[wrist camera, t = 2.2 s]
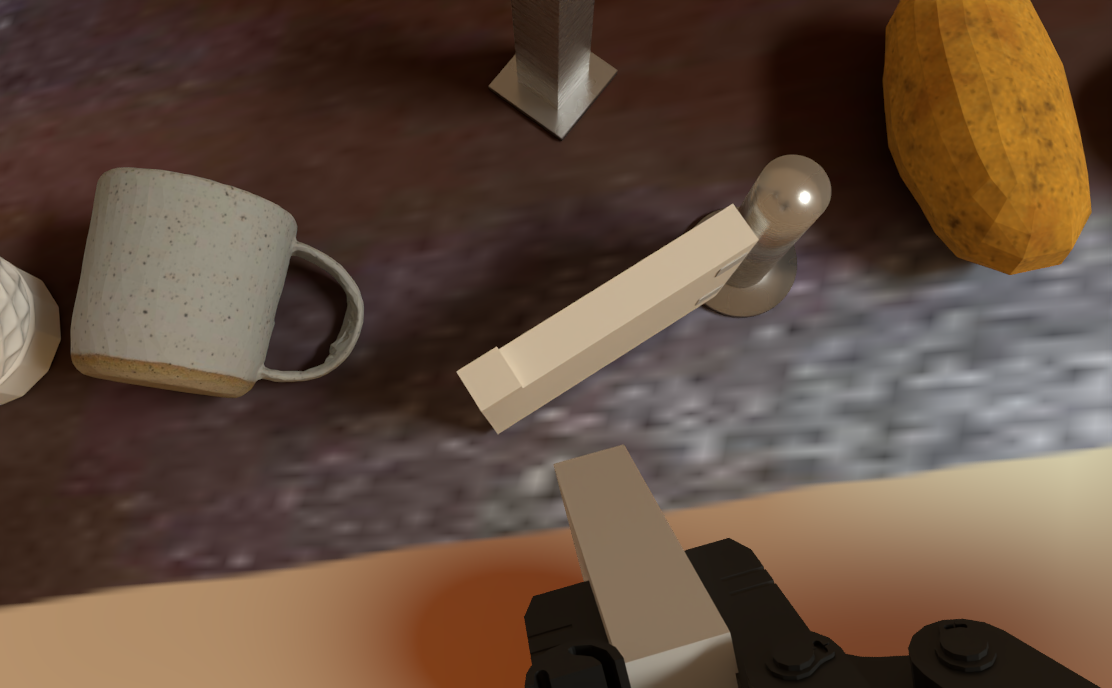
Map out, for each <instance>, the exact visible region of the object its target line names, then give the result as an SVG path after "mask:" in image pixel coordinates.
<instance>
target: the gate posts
mask: <svg viewBox="0 0 1112 688" xmlns="http://www.w3.org/2000/svg"><path fill="white" fill-rule="evenodd" d="M511 4H512V16H513V29H514V41H515V53H516V54H515V55H514V57H513V58H512V59H511V60H510V61H509V62H508V64H507V65H506V66H505V67H504V68H503V69H502V71H501V72H500V73H499V74H498V75H497V77H496V78H495V79H494V80H493V81H492V82H491V84H490V85H489V89H490V90H491V91H492V92H494V93H495V94H497V95H498V96H499V97H501V98H502V99H504V100H505V101H506V102H508V103H509V104H511V105H512V106H513V107H515V108H516V109H517V110H519V111H520V112H522V113H523V114H524V115H526V116H527V117H529V118H530V119H531V120H533V121H534V122H536V123H537V124H538V125H540V126H541V127H543V128H544V129H545V130H547V131H548V132H550V133H551V134H552V135H554V136H555V137H557V138H558V139H559V140H561V141H562V140H563V139H564V138H565V137H566V135H567V134H568V133H569V132H570V130H571V129H572V128H573V127H574V126H575V124H576V123H577V122H578V121H579V119H580V118H581V117H582V116H583V115H584V113H585V112H586V111H587V110H588V108H589V107H590V106H591V105H592V104H593V102H594V101H595V100H596V99H597V97H598V96H599V95H600V94H601V93H602V91H603V90H604V89H605V88H606V87H607V85H608V84H609V83H610V82H611V80H612V79H613V78H614V77H615V76H616V74H617V70H616V69H615V68H613V67H612V66H610V65H609V64H608V63H606V62H605V61H603V60H602V59H600V58H599V57H597V56H596V55H595V54H593V53H592V52H590V47H591V35H592V22H593V10H594V0H511ZM830 198H831V184H830V181H829V178H828V176H827V174H826V172H825V171H824V170H823V168H822V167H821V166H820V165H819V164H817V163H816V162H815V161H813V160H811V159H809V158H807V157H804V156H801V155H784V156H781V157H778V158H776V159H774V160H772V161H771V162H770V163H769V164H768V165H767V166H766V167H765V168H764V169H763V171H762V172H761V174H760V176H759V177H758V179H757V180H756V182H755V184H754V185H753V187H752V188H751V190H750V192H749V193H748V195H747V196H746V198H745V200H744V201H743V203H742V204H741V206H740V207H736V209H737V210H738V211H739V213H740V214H741V216H742V217H743V218H744V220H745V221H746V223H747V224H748V225H749V227H750V228H751V230H752V231H753V232H754V234H755V235H756V237H757V238H758V239H759V240H758V241H757V243H756V244H755V245H754V247H753V248H752V249H751V251H750V252H749V253H748V254H747V256H746V257H745V258H744V260H743V261H742V262H741V264H740V265H739V266H738V267H737V269H736V270H735V271H734V273H733V274H732V275H731V277H730V278H729V279H728V280H727V282H726V283H725V284H724V286H723V287H722V288H721V290H720V291H719V292H718V293H717V295H716V296H715V297H713V298H712V299H710V300H709V301H707V302H705V303H704V305H705V306H707V307H708V308H710V309H711V310H713V311H715V312H717V313H720V314H723V315H726V316H730V317H738V318H741V317H752V316H756V315H760V314H762V313H765V312H767V311H769V310H770V309H772V308H773V307H775V306H776V305H777V304H778V303H780V302H781V301H782V300H783V298H784V297H785V296H786V295H787V294H788V292H789V291H790V289H791V287H792V285H793V282H794V279H795V276H796V271H797V257H796V252H795V248H794V244H795V243H796V242H797V240H798V239H799V238H800V237H801V236H802V235H803V234H804V233H805V232H806V231H807V230H808V228H809V227H810V226H811V225H812V224H813V223H814V222H815V221H816V220H817V219H818V218H819V216H820V215H821V214H822V213H823V212H824V211H825V209H826V208H827V206H828V204H829V202H830ZM724 209H725V208H724ZM724 209H720V210H717V211H715V212H713V213H711V214H709V215H707V216H706V217H704V218H703V219H702V220H701V221H700V222H699V223H698V224H697V225H696V226H698V225H700V224H701V223H703V222H704V221H706V220H708V219H709V218H711V217H712V216H714V215H716V214H717V213H719V212H720V211H722V210H724ZM696 226H695V227H696ZM695 227H694V228H695Z"/></svg>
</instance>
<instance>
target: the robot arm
mask: <svg viewBox="0 0 1112 688" xmlns="http://www.w3.org/2000/svg"><path fill="white" fill-rule="evenodd" d="M554 468H555V472H556V476H557V480H558V484H559V487H560V491H561V495H562V499H563V503H564V507H565V510H566V514H567V518H568V522H569V526H570V530H571V534H572V537H573V541H574V545H575V549H576V553H577V557H578V560H579V564H580V568H581V572H582V576H583V579H584V582H581V583H578V584H574V585H571V586H567V587H564V588H561V589H557V590H554V591H550V592H547V593H544V594H540V595H536V596H533V598H532V600H531V603H530V605H529V607H528V609H527V612H526V614H525V616H524V619H525V625H526V631H527V637H528V643H529V649H530V654H531V661H532V666H531V667H530V669H529V670H528V672H527V674H526V680H525V688H1100V687H1098V686H1097V685H1095V684H1093V683H1092V682H1090V681H1088V680H1087V679H1085V678H1083V677H1082V676H1080V675H1078V674H1077V673H1075V672H1073V671H1071V670H1069V669H1068V668H1066V667H1065V666H1063V665H1061V664H1060V663H1058V662H1056V661H1055V660H1053V659H1051V658H1049V657H1048V656H1046V655H1044V654H1043V653H1041V652H1039V651H1038V650H1036V649H1034V648H1032V647H1031V646H1029V645H1027V644H1026V643H1024V642H1022V641H1021V640H1019V639H1017V638H1016V637H1014V636H1012V635H1010V634H1009V633H1007V632H1006V631H1004V630H1001V629H999V628H997V627H994V626H992V625H990V624H987V623H985V622H979V621H973V620H966V619H954V620H942V621H938V622H935V623H932V624H930V625H926V626H924V627H923V628H922V629H921V630H920V631H918V632H917V633H916V634H914V635H913V637H912V639H911V642H910V645H909V647H908V650H909V656H890V657H859V656H854V655H848V654H845V653H844V651H843V650H842V648H841V647H839V646H838V645H837V644H836V643H835V642H834V641H832V640H831V639H830V638H828V637H826V636H823V635H820V634H818V633H815V632H812V631H810V630H809V628H808V627H807V626H806V624H805V623H804V622H803V620H802V619H801V617H800V616H799V615H798V613H797V612H796V611H795V609H794V608H793V606H792V605H791V604H790V602H789V601H788V600H787V598H786V597H785V595H784V594H783V593H782V591H781V590H780V589H779V587H778V586H777V584H774V581H773V579H772V577H771V576H770V575H769V573H768V572H767V571H766V570H764V567H763V565H762V564H761V562H760V561H759V560H758V558H757V557H756V555H755V554H754V553H753V551H752V550H751V549H749V548H748V547H745V546H744V545H741V544H740V543H738V542H736V541H734V540H732V539H730V538H727V539H723V540H720V541H716V542H713V543H709V544H706V545H702V546H699V547H695V548H692V549H688V550H686V551H684V550H683V548H682V546H681V545H680V543H679V541H678V539H677V538H676V536H675V534H674V532H673V530H672V529H671V527H670V525H669V523H668V522H667V520H666V518H665V516H664V515H663V513H662V511H661V509H660V508H659V506H658V504H657V502H656V500H655V499H654V497H653V495H652V493H651V492H650V490H649V488H648V486H647V485H646V483H645V481H644V479H643V478H642V476H641V474H640V472H639V471H638V469H637V467H636V465H635V463H634V462H633V460H632V458H631V456H630V455H629V453H628V451H627V449H626V448H625V446H624V445H621V446H617V447H613V448H610V449H606V450H602V451H599V452H595V453H592V454H588V455H584V456H581V457H577V458H574V459H570V460H566V461H563V462H559V463H556V464H554Z"/></svg>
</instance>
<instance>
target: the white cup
mask: <svg viewBox="0 0 1112 688" xmlns="http://www.w3.org/2000/svg"><path fill="white" fill-rule="evenodd" d="M60 341H61V331H60V316H59V307H58V305H57V303H56V302H55V300H54V299H53V297H52V295H51V294H50V292H49V291H48V289H47V288H46V286H45V284H44V283H43V281H42V280H40V279H38V278H37V277H35V276H33V275H31V274H29V273H28V272H26V271H24V270H22V269H20V268H19V267H17V266H15V265H13V264H11V263H9V262H8V261H6V260H5V259H3V258H1V257H0V405H2V404H5V403H7V402H10V401H12V400H14V399H17V398H20V397H22V396H24V395H25V394H26V393H27V392H28V391H29V390H30V389H31V388H32V387H33V386H34V385H35V384H36V383H37V382H38V381H39V380H40V379H41V378H42V377H43V376H44V375H45V374H46V373H47V372H48V370H49V368H50V366H51V363H52V361H53V358H54V356H55V353H56V351H57V348H58V346H59V343H60Z"/></svg>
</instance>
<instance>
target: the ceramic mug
mask: <svg viewBox="0 0 1112 688" xmlns="http://www.w3.org/2000/svg"><path fill="white" fill-rule="evenodd" d="M296 233H297V224H296V221H295V219H294V218H293V216H292V215H291V214H290V213H288V212H287V211H285V210H284V209H282V208H281V207H280V206H279V205H277V204H275V203H273V202H271V201H268V200H266V199H264V198H262V197H260V196H257V195H254V194H252V193H250V192H247V191H244V190H241V189H238V188H235V187H232V186H229V185H225V184H221V183H218V182H215V181H212V180H209V179H204V178H200V177H196V176H192V175H187V174H181V173H176V172H170V171H165V170H155V169H142V168H116V169H111V170H109V171H107V172H105V173H103V175H102V176H101V177H100V179H99V180H98V183H97V188H96V193H95V200H94V206H93V212H92V217H91V222H90V228H89V233H88V237H87V242H86V247H85V253H84V258H83V264H82V271H81V277H80V282H79V287H78V291H77V296H76V301H75V305H74V310H73V315H72V322H71V359H72V363H73V364H74V366H75V367H76V369H77V370H79V371H80V372H81V373H82V374H84V375H87V376H91V377H95V378H100V379H105V380H110V381H116V382H122V383H128V384H134V385H141V386H147V387H153V388H160V389H166V390H172V391H179V392H186V393H194V394H202V395H209V396H216V397H226V398H237V397H240V396H243V395H244V394H245V393H247V392H248V391H250V390H251V389H252V387H253V386H254V384H255V383H256V381H257V380H260V379H266V380H271V381H274V382H295V381H307V380H311V379H315V378H319V377H321V376H324V375H326V374H328V373H329V372H331V371H332V370H334V369H335V368H337V367H338V366H339V365H340V364H341V363H343V362H344V360H345V359H346V358H347V357H348V356H349V355H350V354H351V352H352V350H353V348H354V347H355V344H356V342H357V340H358V338H359V335H360V332H361V328H362V324H363V317H364V303H363V300H362V297H361V294H360V291H359V288H358V286H357V285H356V283H355V282H354V280H353V279H352V278H351V276H350V275H349V274H348V273H347V271H346V270H345V269H344V268H343V267H342V266H341V265H340V264H339V263H337V262H336V261H335V260H333V259H332V258H330V257H329V256H327V255H326V254H324V253H323V252H321V251H319V250H317V249H315V248H313V247H311V246H308V245H306V244H303V243H300V242H298V241H297V240H296ZM291 256H298V257H300V258H303V259H306V260H308V261H310V262H312V263H314V264H316V265H318V266H319V267H321V268H322V269H324V270H325V271H326V272H328V273H329V274H330V275H332V276H333V277H334V278H335V279H336V280H337V281H338V282H339V284H340V285H341V286H342V288H343V289H344V291H345V293H346V295H347V305H348V306H347V310H346V313H345V317H344V321H343V324H342V327H341V330H340V333H339V335H338V337H337V339H336V341H335V342H334V343H332V344H331V345H330V350H329V353H330V355H329V356H328V357H327V358H326V360H325V362H324V364H321V365H319V366H316V367H314V368H310V369H308V370H306V371H279V370H270V369H269V368H267V367H265V365H264V361H265V358H266V354H267V349H268V347H269V341H270V337H271V333H272V330H273V327H274V324H275V322H274V317H275V314H276V309H277V305H278V302H279V299H280V296H281V293H282V289H283V286H284V282H285V277H286V274H287V270H288V265H289V261H290V257H291Z"/></svg>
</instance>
